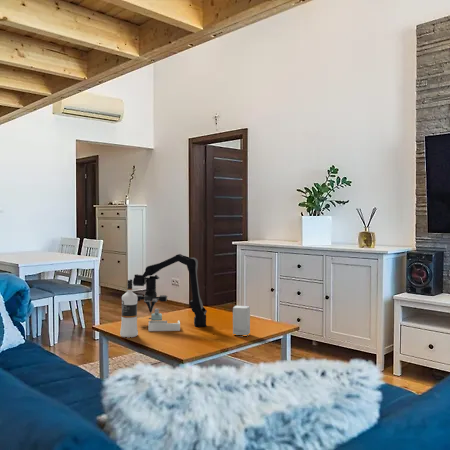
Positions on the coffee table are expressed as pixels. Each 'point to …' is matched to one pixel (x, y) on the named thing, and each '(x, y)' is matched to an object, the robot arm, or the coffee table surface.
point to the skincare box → (241, 320)
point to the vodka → (129, 313)
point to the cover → (156, 315)
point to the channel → (163, 326)
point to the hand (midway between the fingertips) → (150, 312)
